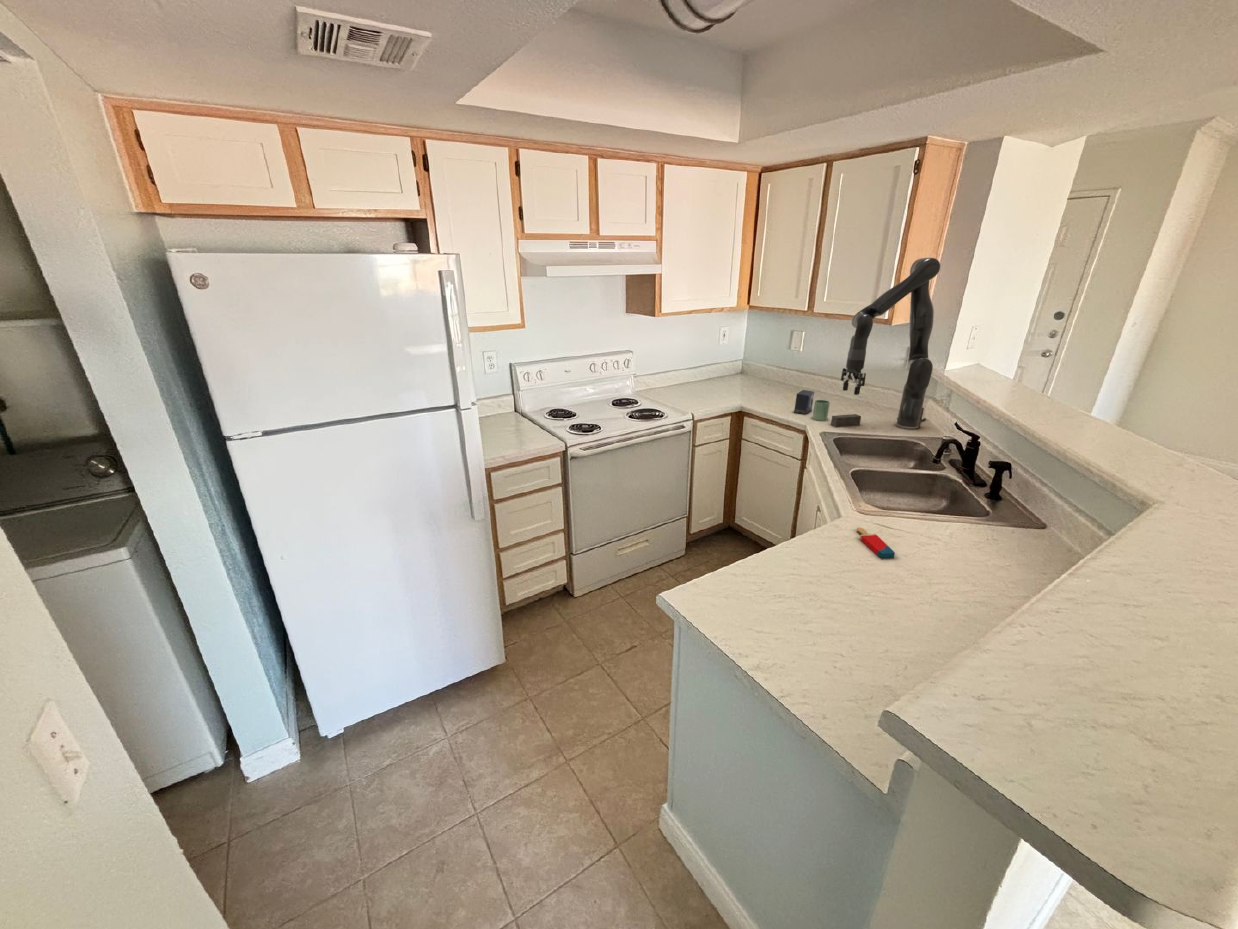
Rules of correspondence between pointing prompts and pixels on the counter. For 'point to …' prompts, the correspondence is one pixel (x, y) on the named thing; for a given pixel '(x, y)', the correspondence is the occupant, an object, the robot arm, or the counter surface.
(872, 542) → the popsicle
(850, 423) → the bar
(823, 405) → the cup
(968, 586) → the counter surface
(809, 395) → the small box
